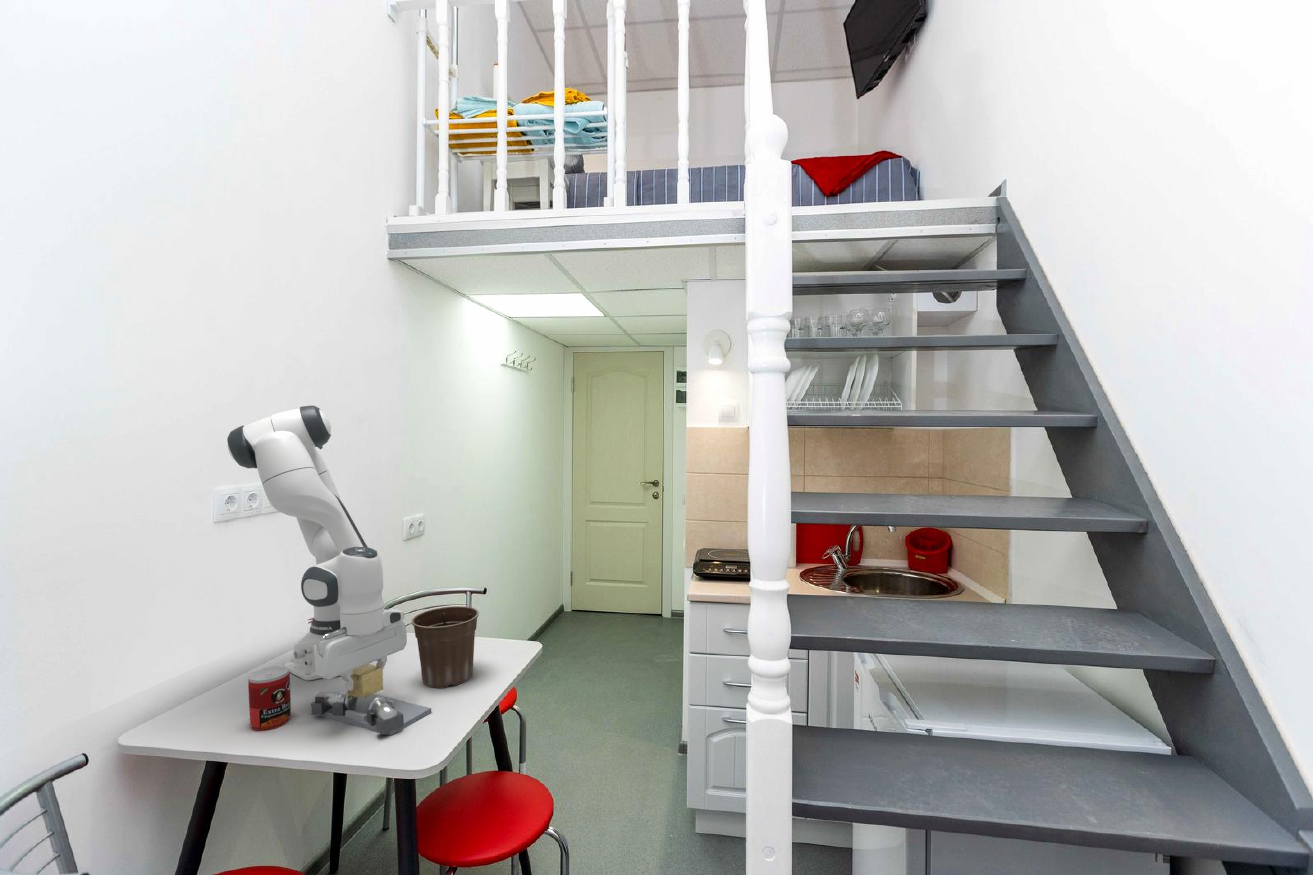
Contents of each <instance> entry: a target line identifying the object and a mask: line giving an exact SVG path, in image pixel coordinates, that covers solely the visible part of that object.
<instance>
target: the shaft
mask: <svg viewBox="0 0 1313 875" xmlns="http://www.w3.org/2000/svg"><path fill="white" fill-rule="evenodd" d="M357 700H358V697H355V696H351V695H348V691H346V692H345V691H318V692H317V693H316V695H315V698H314V701H313V702H312V703H310V707H311V708H310V709H311V714H310V715H312V716H320V715H323V714H324V713H325V712H327V711H328V710H330V709H331V708H332V707H333V716H343V715H345V711H347V710H351V709H353V708H354V707H355V706H356V703H357Z"/></svg>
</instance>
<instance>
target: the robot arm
mask: <svg viewBox="0 0 1313 875" xmlns="http://www.w3.org/2000/svg"><path fill="white" fill-rule="evenodd" d="M331 426H332V424H331V422H330V419H329V418H328V416H327V415H326V413H325V412H324V411H322V410H321V408H320V407H318V406H316V405H303V406H300V407H299V408H295V409H294V408H293V409H289V410H285V411H284V410H283V411H279V412H277V413H273V414H270V415H269V416H266V417H263V418H260V419H258V420H255V421H252V422H251V423H248V424H246V425H240V426H238V427H236V428H234V429H233V430H231V431H230V432H229V434H228V436H227V439H226V440H227V441H226V442H227V449H228V452H229V454H230V456H231V458H232V459H233V460H234V461H235V462H236V463H237V465H239V467H242V468H244V469H257V472H258V475H259V480H260V482H261V485H262V488H263V491H264V493H265V497H266V499H267V500H268V501H269V503H270V505H271V506H272V507H273V509H274V510H276V511H278V512H279V513H282V514H284V515H287V516H289V517H292V518H293V517H295V518H296V520H297V523H298V525H299V529H300V531H301V533H302V535H303V539H304V541H305V543H306V547H307V548H308V550H309V552H310V554H311V555H312V556H313V557H315V565H313V566H310V567H308V568H307V569H306V570H305V572H304V573H303V576H302V577H301V578H302V579H301V582H300V583H301V584H300V588H301V589H300V590H301V593H302V596H303V598H304V600H305V601H306V603H308V604H309V605H311V606H313V617H311V618H309V619H307V621H309V622H307V624H309V625H310V627H309V632H308V633H306V634H305V635H304V636H303V637H301V639H300V640H298V641H297V642H296V643H295V644H294V647H293V654H292V655H293V659H291V660H288V661H287V662H285V663H284V664H283V666H284V667H288V668H289V672H290V673H291V674H292V675H295V676H297V677H298V678H301V679H302V680H304V681H312V680H318V679H324V680H325V679H326V680H331V679H334V678H337V677H341V678H342V679H343V681H344V682H345V689H346V690H347V691H348V690H349V691H351V690H353V689H356V688H357V680H353V679H352V678H351V677H350V675H352V674H353V672H352V670H354V669H356V668H359V667H361V666H364V665H366V664H370V663H373V662H376V664H375V666H379V667H382V675H383V676H384V672H383V671H384V668H385V666H386V663H387V661H388V656H391V655H393V654H396V653H398V652H400V651H403V650H404V649H405V648H406V645H407V644H408V642H407V641H408V638H407V635H408V634H407V626H406V623H405V622H404V620H405V619H404V618H405V612H404V611H403V610H399V609H394V608H387V607H385V601H384V600H383V590H384V572H383V564H382V560H381V556H380V554H379V552H378V551H377V550H376V549H374V548H372V547H369V546H368V545H367V544H366V542H365V540H364V538H363V536H362V534H361V533H360V530H359V529H358V528H357V526H356V524H355V521H354V520H353V518H352V517H351V515H350V513H349V510H347V508H346V506H345V505H344V503H343V502H342V500H341V499H340V498H341V496H340V495H339V492H338V490H337V488H336V485H335V483H334V480H333V478H332V477H331V474H330V471H329V469H328V468H327V467H328V466H327V465H326V462H325V461H324V459H323V457H322V455H321V454H320V452H319V450H322V449H323V448H324V447H323V446H324V445H326V444H327V443H328V442H329V440H330V439H331V437H332V434H331V431H332V427H331Z"/></svg>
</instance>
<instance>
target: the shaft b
mask: <svg viewBox="0 0 1313 875" xmlns="http://www.w3.org/2000/svg"><path fill="white" fill-rule="evenodd" d="M381 696H382V695H380V696H379V697H376V698H374V699H373V700H371V702H370V703H369V705H368V711H367V723H368V724H370V725H371V726H374V725H376V731H375V732H377V733H378V734H379V735H384V733H386V732H389V731H392V730H394V729H397V728H400V727H403V726H404V718H403V714H402V713H401V712H400V711H395V710H394V706H392V705H391V704H388V701H387V700H386V699H385V698H384V697H385V696H384V697H381Z"/></svg>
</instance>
